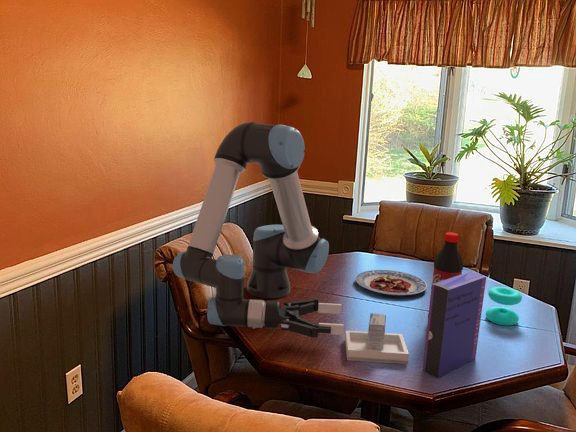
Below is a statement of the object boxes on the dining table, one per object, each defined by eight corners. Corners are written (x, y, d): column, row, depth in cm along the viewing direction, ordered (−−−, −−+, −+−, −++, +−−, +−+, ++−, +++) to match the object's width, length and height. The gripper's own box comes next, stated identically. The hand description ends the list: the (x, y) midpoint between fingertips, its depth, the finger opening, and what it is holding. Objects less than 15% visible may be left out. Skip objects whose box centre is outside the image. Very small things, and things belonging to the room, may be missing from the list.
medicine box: (382, 355, 151) (385, 325, 149) (366, 353, 151) (368, 323, 149) (383, 343, 158) (386, 314, 156) (367, 340, 159) (370, 312, 157)
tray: (345, 340, 161) (345, 330, 160) (401, 343, 160) (402, 334, 160) (347, 360, 149) (347, 349, 149) (407, 364, 149) (408, 353, 148)
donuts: (485, 291, 176) (493, 283, 184) (481, 321, 179) (489, 311, 187) (518, 299, 171) (525, 290, 179) (513, 329, 173) (521, 319, 181)
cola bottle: (436, 334, 167) (447, 237, 160) (421, 322, 175) (431, 229, 168) (460, 332, 170) (473, 236, 163) (445, 320, 178) (456, 229, 171)
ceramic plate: (429, 303, 192) (430, 295, 191) (353, 296, 195) (354, 288, 195) (423, 278, 217) (424, 271, 216) (356, 272, 220) (356, 265, 219)
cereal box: (460, 352, 157) (470, 270, 151) (475, 359, 153) (486, 275, 148) (422, 370, 146) (431, 283, 140) (437, 378, 142) (448, 289, 137)
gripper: (268, 309, 167) (339, 313, 166) (259, 347, 143) (343, 353, 142) (268, 285, 165) (341, 289, 164) (260, 320, 141) (345, 325, 140)
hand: (342, 319), depth 153 cm, fingers open, 13 cm apart
